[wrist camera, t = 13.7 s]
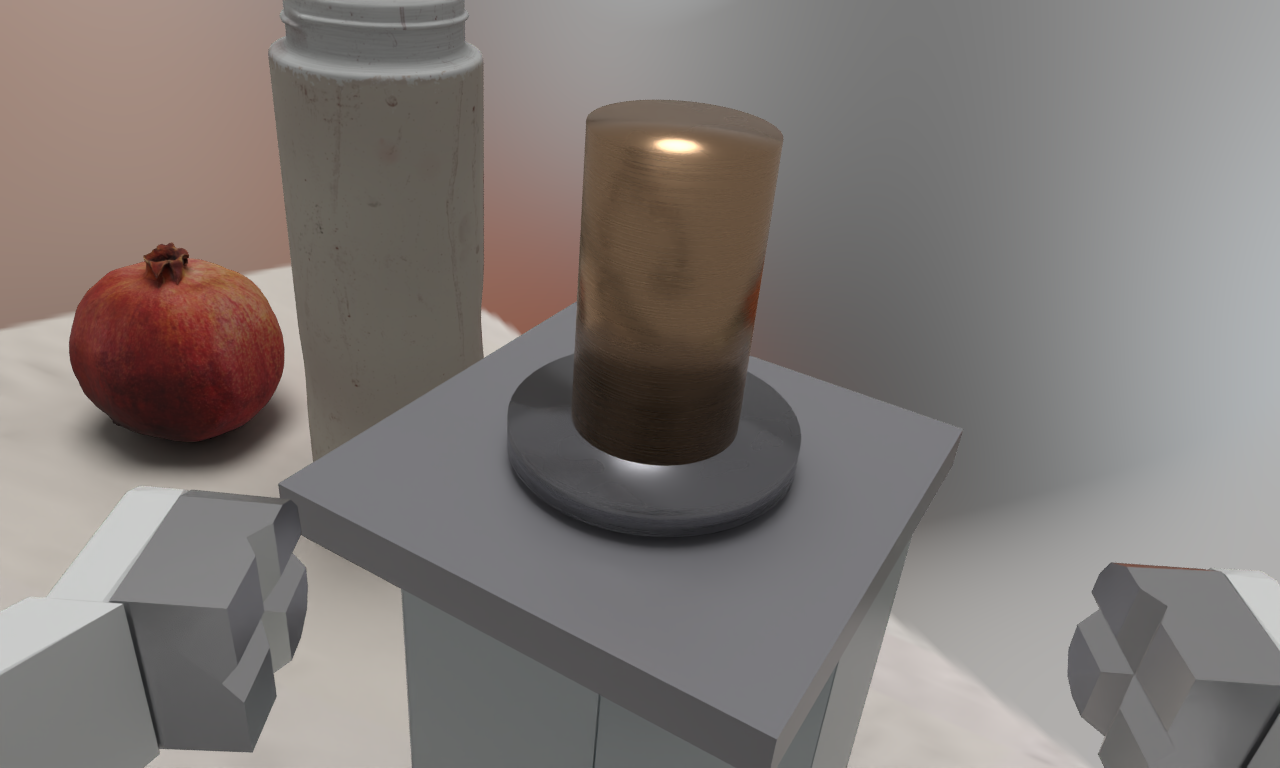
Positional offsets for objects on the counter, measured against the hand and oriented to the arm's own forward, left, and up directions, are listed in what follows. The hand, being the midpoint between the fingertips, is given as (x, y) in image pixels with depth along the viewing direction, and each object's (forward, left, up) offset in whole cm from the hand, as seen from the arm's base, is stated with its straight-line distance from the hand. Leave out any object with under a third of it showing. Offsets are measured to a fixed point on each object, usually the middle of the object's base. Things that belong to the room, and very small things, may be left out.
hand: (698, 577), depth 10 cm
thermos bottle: (+6, +33, -25) cm, 41 cm away
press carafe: (+7, +11, -25) cm, 28 cm away
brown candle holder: (+6, +11, -18) cm, 22 cm away
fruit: (-2, +45, -25) cm, 51 cm away
